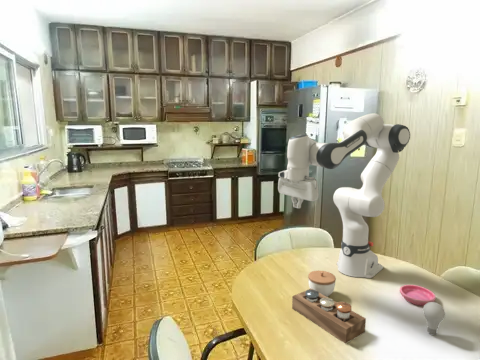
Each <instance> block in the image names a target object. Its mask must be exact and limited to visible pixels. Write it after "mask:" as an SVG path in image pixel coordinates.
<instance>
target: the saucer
mask: <svg viewBox="0 0 480 360" xmlns="http://www.w3.org/2000/svg"><path fill="white" fill-rule="evenodd" d="M399 293H400V295H401V296H402V297H403V298H404V299H405V301H406V302H409V303H410V304H413V305H416V306H423V307H424V305H425V304H426V303H428V302H436V298H437V296H436V294H435V293H434V292H433V291H432V290H430V289H428V288H426V287H423V286H420V285H417V284H404V285H402V286H400V288H399Z"/></svg>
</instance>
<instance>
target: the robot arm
mask: <svg viewBox="0 0 480 360" xmlns="http://www.w3.org/2000/svg"><path fill="white" fill-rule="evenodd" d="M382 117H383V116H381V115H380V114H378V113H377V112H376V113H374V112H373V113H372V112H371V113H367V114H364V115H362V116H359V117H357V118H354V119H353V120H351V121H349V122H348V123H347V124H346V125H344V127H343V131H342V135H343V140H341V141H339V142H318V141H316V140H314V139H313V138H311V137H310V136H309V135H308V134H306V133H302V134H301V133H300V134H294V135H292V136H291V137H289V139H288V142H287V149H286V150H287V152H286V153H287V154H286V156H287V166H286V170H285V169H284V170H282V171H279V172H278V175H277V176H278V182H277V191H278V193H279V194H281V195H285V196H288V197H290V199H291V202H292V207H293V208H296V209H301V208H302V203H303V202H304V200H305V201H308V202H309V201H310V202H315V201H318V199H319V187H318V185H319V184H318V180H317V179H316V178H315V177H314V176H310V165H311V166H315V167H321V168H324V169H327V170H335V169H336V168H338V167H339V166H340V165H341V164H342V163H343V161H344V160H346V158H347V157H348V156H350V155H352V154H354V152H356V151H357V150H359V149H360V148H361V147H362V146H367V147H368V148H371V149H372V148H375V149H376V152H375V154H374V155H373V157H372V158H371V159H370V160H369V162H368V163H367V164H366V166H365V167H364V169H363V170H362V172H361V174H360V180H361V182H362V186H361V187H360V188H354V187H350V186H342V187H339V188H337V189H336V190H335V191H334V193H333V197H332V199H333V200H332V201H333V203H334V205H335V206H336V207H337V209H338V212H339V214H340V217H341V221H342V239H341V243H340V244H341V248H340V250H339V255H338V261H336V265H337V270H338V271H339V272H340V273H341V274H343V275H345V276H348V277H355V278H367V279H372V278H373V277H374V276H376V275H377V274H378V273H379V272H381V271H382V270H383V269H384V266H383V265H382V264H381V263H379V257H378V255H377V254H376V253H375V252H374V251H372V250H371V248H370V247H373V246H374V242H372V241H371V240H370V241H369V229H370V228H369V225H368V223H367V222H366V220H365V219H364V218H363V217H369V218H377V217H379V216H380V215H382V213H383V212H384V210H385V200H384V198H383V195H382V194H383V193H382V192H383V190H384V186H385V185H386V183H387V182H388V181H389V180H388V179H389V178H390V177H391V176H392V173H393V172H394V171H395V169H396V167H397V165H398V162H399V159H400V154H399V153H400V152H403V150H404V149H405V148H406V146H407V145H408V144H409V142H410V140H411V131H410V129H409V127H407V126H406V125H403V124H401V123H399V124H398V123H396V124H393V123H392V124H391V123H387V124H386V123H385V121H384V118H382Z"/></svg>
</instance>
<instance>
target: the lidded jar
mask: <svg viewBox="0 0 480 360" xmlns="http://www.w3.org/2000/svg"><path fill="white" fill-rule="evenodd" d="M307 276H308V277H307V278H308V287H309V289H313V290H316V291H318V292H319V293H321V294H322V295H324V296H326V297H328V298H329V296H331V295H332V294H333V293H334V290H335V286H336V279H337V278H336V276H335V275H334V274H333V273H331V272H330V271H326V270H313V271H310V272H309V273H308V275H307Z"/></svg>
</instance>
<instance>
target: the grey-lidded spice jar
mask: <svg viewBox="0 0 480 360" xmlns="http://www.w3.org/2000/svg"><path fill="white" fill-rule="evenodd" d="M305 291H306V290H305ZM305 296H306V300H308V301H310V302H311V303H313V302H316V301H317V298H318V297H319V293H318V291H316V290H309V289H307V291H306V292H305Z"/></svg>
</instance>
